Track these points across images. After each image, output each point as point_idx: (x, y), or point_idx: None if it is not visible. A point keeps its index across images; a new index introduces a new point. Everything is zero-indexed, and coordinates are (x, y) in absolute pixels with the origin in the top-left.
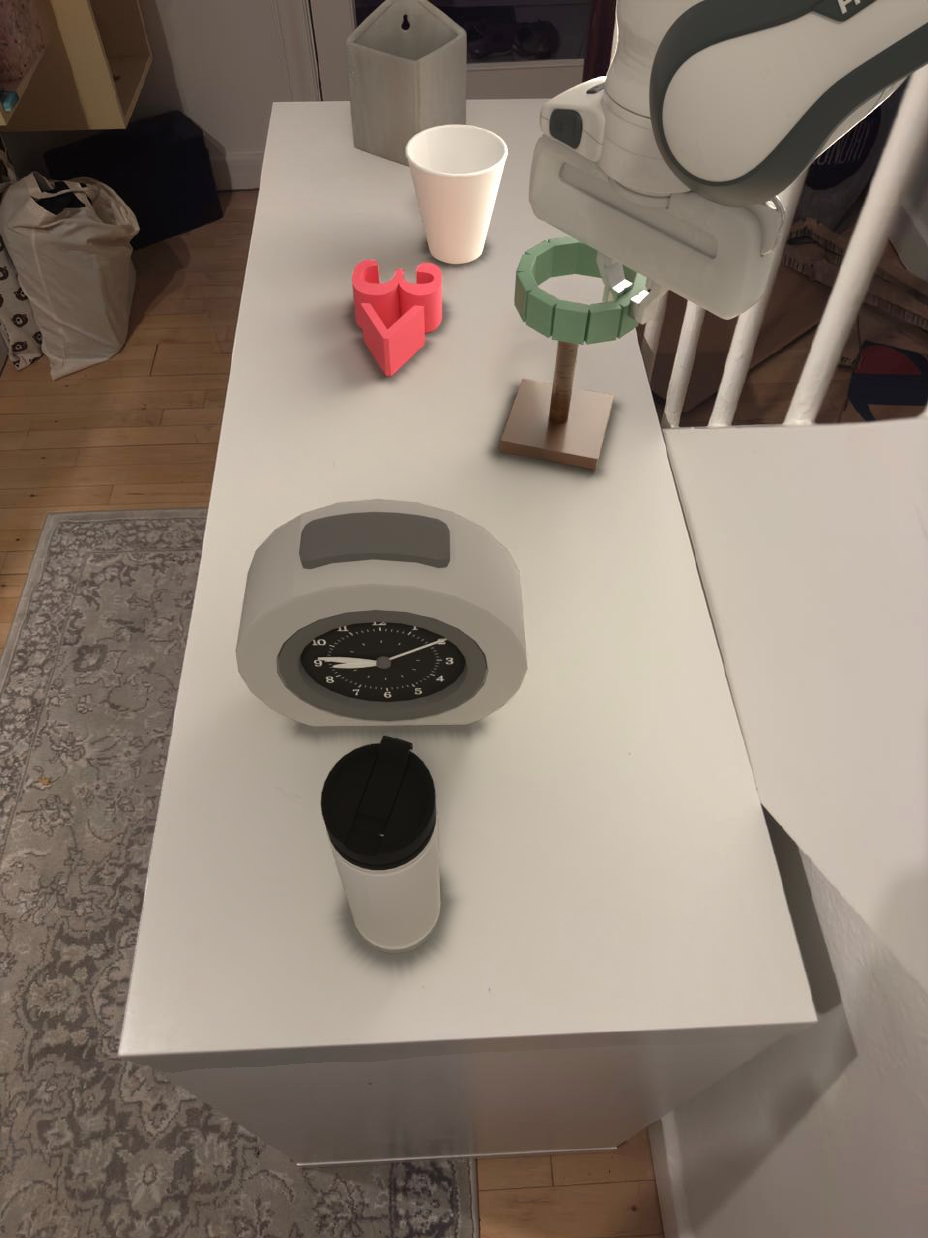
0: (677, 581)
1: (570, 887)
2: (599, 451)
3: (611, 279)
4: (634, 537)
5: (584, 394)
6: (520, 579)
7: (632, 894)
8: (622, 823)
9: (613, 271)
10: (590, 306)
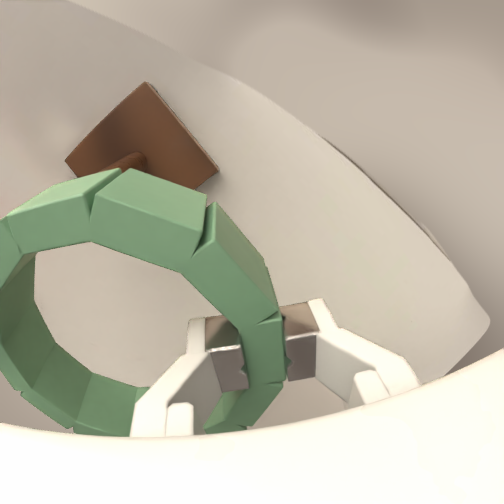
0: (370, 207)
1: (415, 370)
2: (209, 160)
3: (211, 402)
4: (313, 200)
5: (122, 112)
6: (345, 403)
7: (437, 352)
8: (423, 342)
9: (201, 407)
10: (233, 421)
